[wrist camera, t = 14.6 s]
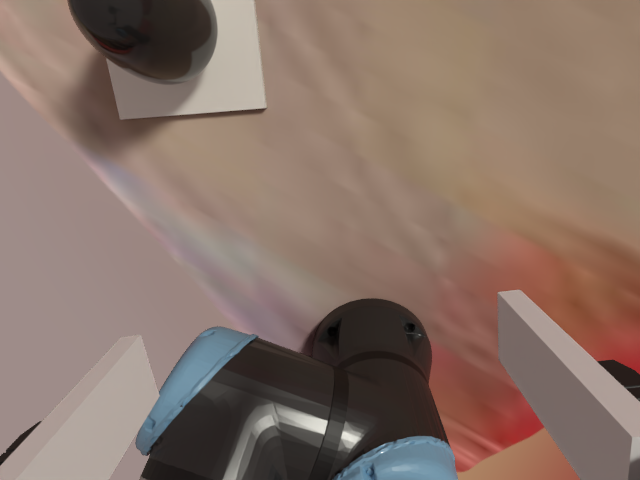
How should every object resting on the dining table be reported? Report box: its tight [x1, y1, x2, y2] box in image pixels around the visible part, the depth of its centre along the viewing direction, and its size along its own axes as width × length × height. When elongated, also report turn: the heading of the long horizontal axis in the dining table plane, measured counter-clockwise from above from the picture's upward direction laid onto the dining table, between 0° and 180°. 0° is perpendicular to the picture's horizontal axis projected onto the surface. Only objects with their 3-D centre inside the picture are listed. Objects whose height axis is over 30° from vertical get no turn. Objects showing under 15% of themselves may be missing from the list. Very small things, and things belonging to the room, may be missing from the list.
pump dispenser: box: [67, 0, 218, 85], centre depth 33 cm, size 10×10×15 cm
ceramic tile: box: [106, 0, 267, 120], centre depth 41 cm, size 16×16×1 cm
